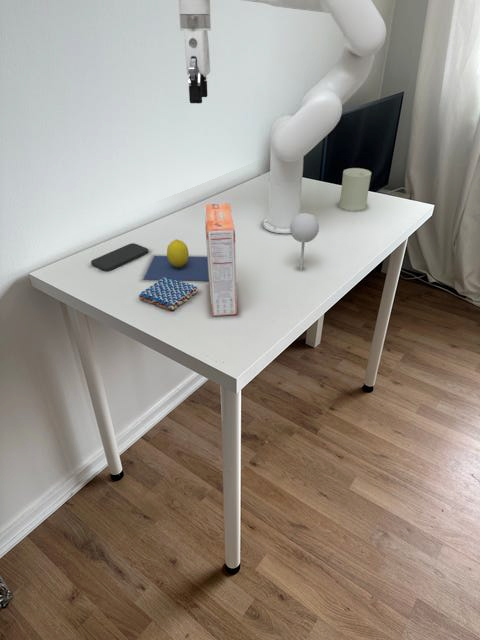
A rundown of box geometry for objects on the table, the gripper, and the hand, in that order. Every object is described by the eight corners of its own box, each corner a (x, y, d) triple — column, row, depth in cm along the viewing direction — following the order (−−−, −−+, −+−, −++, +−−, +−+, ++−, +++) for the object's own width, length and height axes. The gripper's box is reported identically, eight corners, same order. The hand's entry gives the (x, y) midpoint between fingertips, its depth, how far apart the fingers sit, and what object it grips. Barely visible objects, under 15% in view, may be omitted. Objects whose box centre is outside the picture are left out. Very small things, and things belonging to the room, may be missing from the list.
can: (351, 213, 149) (356, 176, 142) (333, 204, 156) (337, 169, 149) (372, 207, 153) (378, 172, 146) (353, 199, 160) (358, 165, 153)
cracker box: (208, 285, 111) (204, 203, 99) (233, 284, 112) (231, 202, 100) (210, 317, 100) (205, 228, 88) (237, 315, 100) (236, 227, 88)
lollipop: (317, 264, 120) (322, 210, 111) (311, 277, 114) (317, 221, 105) (291, 261, 121) (294, 207, 113) (284, 273, 116) (287, 217, 107)
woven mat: (200, 292, 108) (199, 285, 107) (172, 313, 101) (171, 305, 100) (166, 281, 113) (165, 273, 112) (137, 300, 106) (136, 293, 105)
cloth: (219, 257, 123) (219, 257, 123) (214, 281, 113) (214, 280, 113) (154, 256, 124) (154, 255, 124) (143, 279, 114) (143, 279, 114)
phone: (150, 249, 126) (106, 269, 116) (150, 252, 126) (107, 272, 117) (132, 242, 130) (88, 261, 120) (132, 245, 130) (89, 264, 120)
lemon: (191, 263, 120) (189, 235, 116) (187, 273, 116) (185, 244, 111) (171, 262, 121) (168, 234, 116) (166, 272, 116) (163, 243, 112)
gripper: (205, 24, 103) (208, 106, 113) (214, 22, 118) (216, 95, 127) (173, 24, 104) (178, 105, 114) (186, 22, 118) (190, 94, 128)
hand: (198, 99), depth 121 cm, fingers open, 9 cm apart
